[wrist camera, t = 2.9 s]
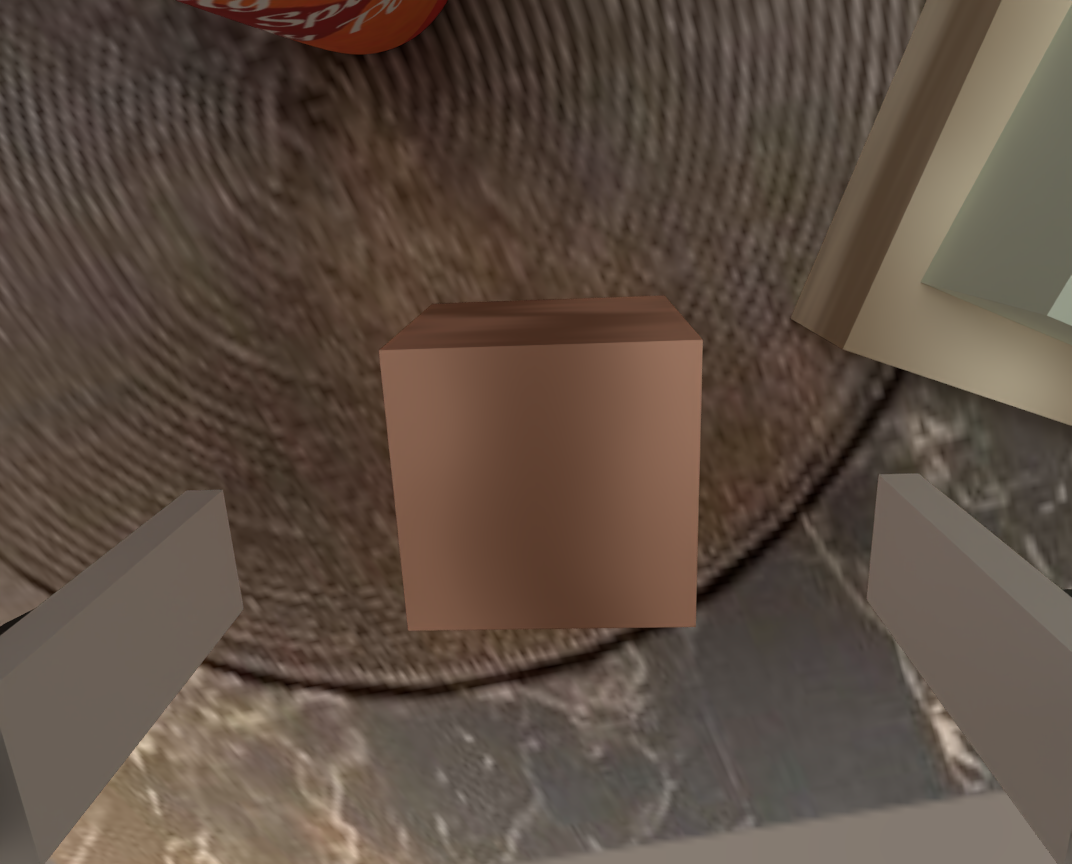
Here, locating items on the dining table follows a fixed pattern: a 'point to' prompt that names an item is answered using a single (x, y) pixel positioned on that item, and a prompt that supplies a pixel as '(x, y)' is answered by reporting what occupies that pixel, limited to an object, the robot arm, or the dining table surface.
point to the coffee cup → (333, 20)
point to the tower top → (1021, 210)
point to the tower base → (937, 211)
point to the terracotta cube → (546, 463)
